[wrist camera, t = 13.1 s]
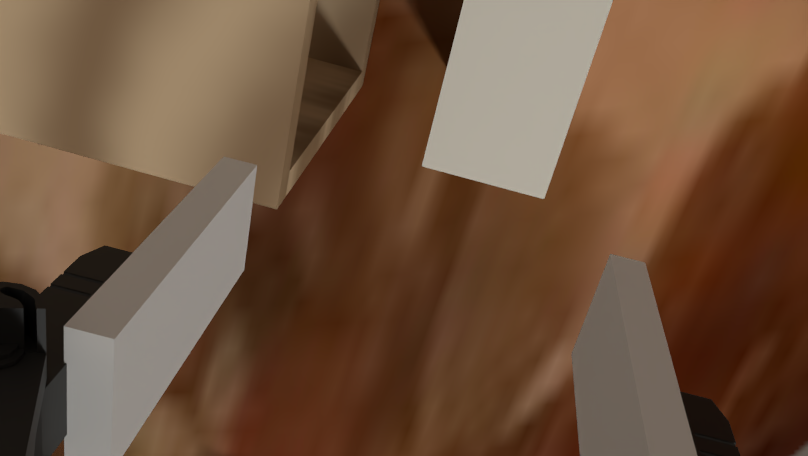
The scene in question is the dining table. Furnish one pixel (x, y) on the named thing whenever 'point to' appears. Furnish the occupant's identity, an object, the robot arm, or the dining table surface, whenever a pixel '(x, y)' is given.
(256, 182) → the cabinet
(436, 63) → the dining table surface
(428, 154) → the grey rectangular block
